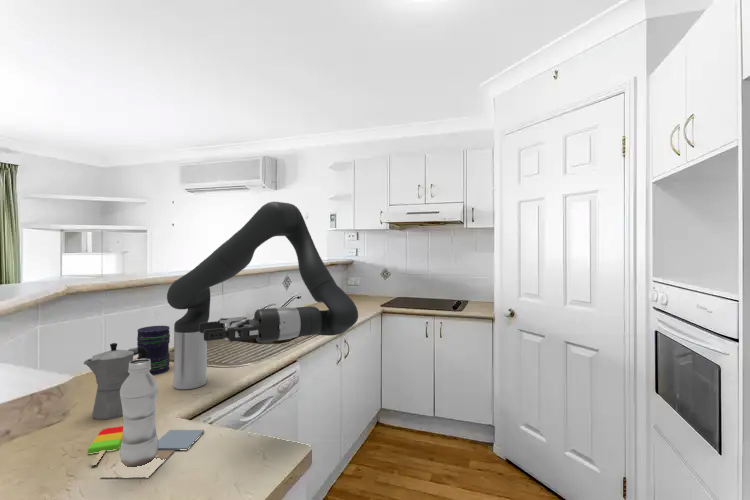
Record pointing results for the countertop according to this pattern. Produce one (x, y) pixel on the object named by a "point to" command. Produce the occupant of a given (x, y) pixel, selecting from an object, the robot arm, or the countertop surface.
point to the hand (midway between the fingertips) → (201, 331)
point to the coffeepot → (111, 379)
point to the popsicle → (107, 441)
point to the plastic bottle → (139, 415)
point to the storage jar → (155, 347)
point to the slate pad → (178, 439)
